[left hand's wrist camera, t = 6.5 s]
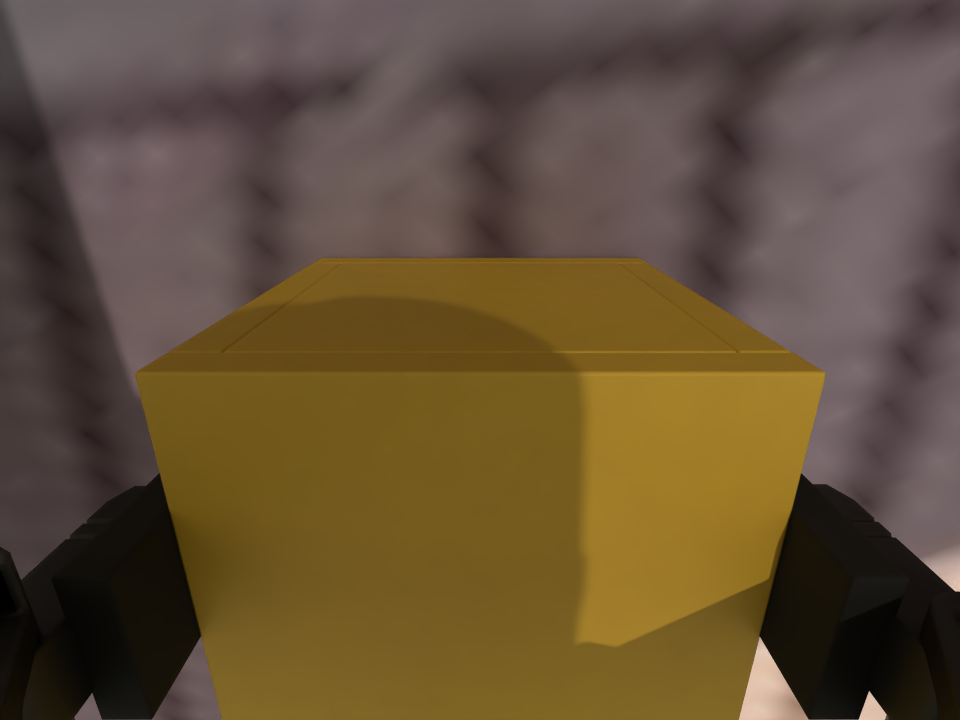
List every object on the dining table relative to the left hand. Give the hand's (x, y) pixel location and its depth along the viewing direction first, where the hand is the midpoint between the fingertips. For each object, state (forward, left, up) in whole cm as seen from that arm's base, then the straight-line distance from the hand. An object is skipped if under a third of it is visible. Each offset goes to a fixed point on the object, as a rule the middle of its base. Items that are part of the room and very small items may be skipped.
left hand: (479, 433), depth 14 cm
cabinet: (+5, -1, -4) cm, 7 cm away
